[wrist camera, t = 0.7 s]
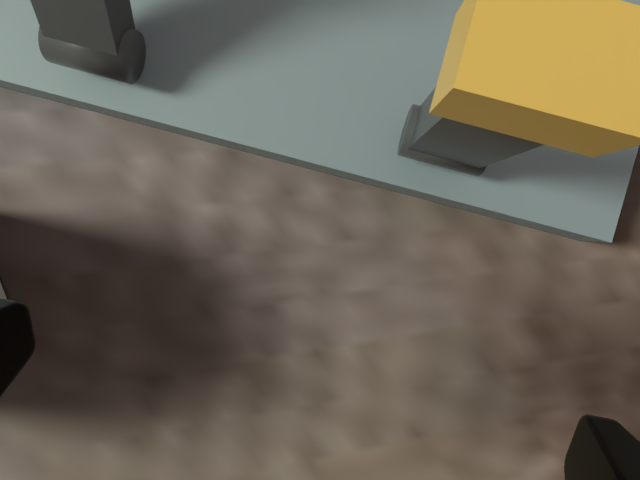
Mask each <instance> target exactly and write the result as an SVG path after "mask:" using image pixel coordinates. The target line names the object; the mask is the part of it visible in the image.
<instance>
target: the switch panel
mask: <svg viewBox="0 0 640 480" xmlns="http://www.w3.org/2000/svg"><path fill="white" fill-rule="evenodd" d="M621 1H625V2H628V3H632V4H636V5H640V0H621ZM463 2H464V0H130V4H131V9H132V14H133V20H134V25H135V30H138V31H140V32H141V33H142V35H143V37H144V40H145V45H146V57H145V63H144V68H143V71H142V73H141V75H140V77H139V79H138V80H137V81H136V82H135V83H134V84H128V83H125V82H121V81H117V80H113V79H110V78H106V77H102V76H98V75H95V74H91V73H87V72H83V71H80V70H76V69H72V68H68V67H65V66H61V65H57V64H53V63H50V62H48V61H46V60H45V59H44V57H43V56H42V54H41V51H40V48H39V43H38V31H39V26H40V25H39V23H38V20H37V17H36V15H35V12H34V9H33V6H32V4H31V1H30V0H0V86H1V87H4V88H8V89H12V90H16V91H19V92H23V93H27V94H31V95H34V96H38V97H42V98H46V99H49V100H53V101H57V102H61V103H64V104H68V105H72V106H76V107H79V108H83V109H87V110H91V111H94V112H98V113H102V114H106V115H110V116H113V117H117V118H121V119H125V120H128V121H132V122H136V123H140V124H143V125H147V126H151V127H155V128H158V129H162V130H166V131H170V132H173V133H177V134H181V135H185V136H188V137H192V138H196V139H200V140H203V141H207V142H211V143H215V144H218V145H222V146H226V147H230V148H233V149H237V150H241V151H245V152H248V153H252V154H256V155H260V156H263V157H267V158H271V159H275V160H278V161H282V162H286V163H290V164H293V165H297V166H301V167H305V168H308V169H312V170H316V171H320V172H324V173H327V174H331V175H335V176H339V177H342V178H346V179H350V180H354V181H357V182H361V183H365V184H369V185H372V186H376V187H380V188H384V189H387V190H391V191H395V192H399V193H402V194H406V195H410V196H414V197H417V198H421V199H425V200H429V201H432V202H436V203H440V204H444V205H447V206H451V207H455V208H459V209H462V210H466V211H470V212H474V213H477V214H481V215H485V216H489V217H492V218H496V219H500V220H504V221H507V222H511V223H515V224H519V225H522V226H526V227H530V228H534V229H537V230H541V231H545V232H549V233H553V234H556V235H560V236H564V237H568V238H571V239H575V240H579V241H590V242H607V243H612V240H613V237H614V233H615V230H616V226H617V223H618V219H619V216H620V212H621V209H622V205H623V201H624V198H625V194H626V191H627V187H628V184H629V180H630V177H631V173H632V170H633V166H634V163H635V159H636V156H637V152H638V149H639V146H636V147H632V148H628V149H624V150H620V151H616V152H612V153H608V154H604V155H600V156H596V157H589V156H585V155H582V154H578V153H574V152H570V151H567V150H563V149H559V148H555V147H552V146H548V145H542V146H539V147H537V148H534V149H531V150H528V151H526V152H523V153H520V154H518V155H515V156H512V157H509V158H507V159H504V160H501V161H498V162H496V163H493V164H490V165H487V167H486V169H485V170H484V172H483V173H482V174H481V175H480V176H478V177H477V176H474V175H470V174H466V173H462V172H459V171H455V170H451V169H447V168H444V167H440V166H436V165H432V164H429V163H425V162H421V161H417V160H414V159H410V158H406V157H402V156H399V155H398V146H399V142H400V138H401V134H402V130H403V127H404V124H405V121H406V118H407V115H408V112H409V110H410V108H411V106H412V104H415V105H419V106H420V105H421V104H422V103H423V102H424V100H425V99H426V98H427V97H428V96H429V94H430V93H431V92H432V91H433V89H434V88H435V87H436V85H437V81H438V78H439V74H440V70H441V66H442V63H443V59H444V55H445V52H446V48H447V44H448V41H449V37H450V33H451V29H452V26H453V22H454V18H455V15H456V13H457V11H458V10H459V8H460V6H461V5H462V3H463Z"/></svg>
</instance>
